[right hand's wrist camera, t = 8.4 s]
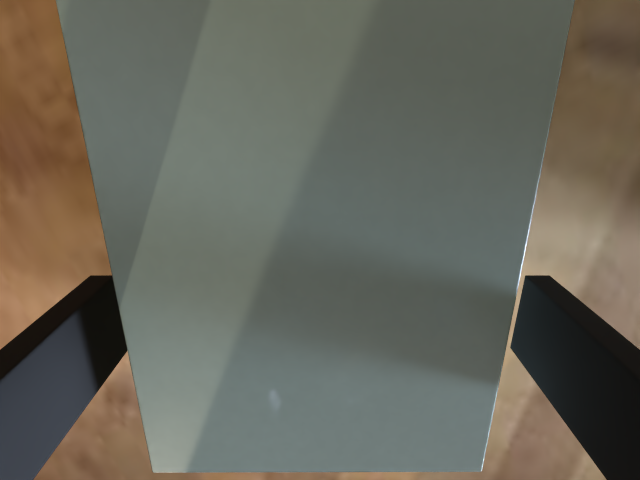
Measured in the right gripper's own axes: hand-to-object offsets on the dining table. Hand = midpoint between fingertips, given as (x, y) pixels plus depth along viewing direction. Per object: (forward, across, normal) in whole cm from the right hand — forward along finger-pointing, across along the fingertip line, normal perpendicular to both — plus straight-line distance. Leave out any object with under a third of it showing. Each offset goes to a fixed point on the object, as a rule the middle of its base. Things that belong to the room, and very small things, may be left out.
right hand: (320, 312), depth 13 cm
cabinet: (+7, 0, -6) cm, 9 cm away
